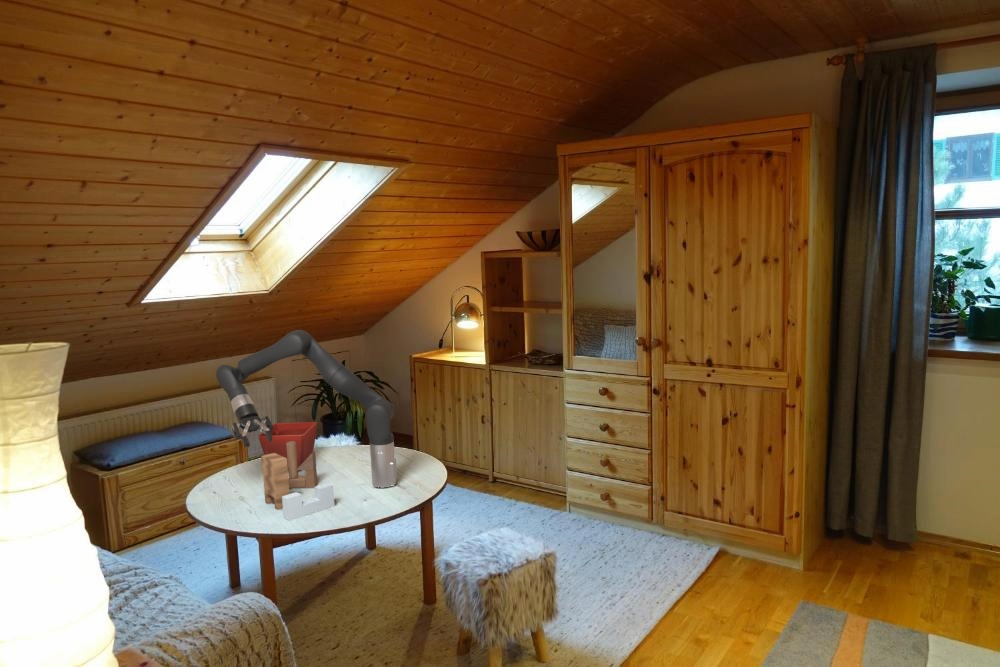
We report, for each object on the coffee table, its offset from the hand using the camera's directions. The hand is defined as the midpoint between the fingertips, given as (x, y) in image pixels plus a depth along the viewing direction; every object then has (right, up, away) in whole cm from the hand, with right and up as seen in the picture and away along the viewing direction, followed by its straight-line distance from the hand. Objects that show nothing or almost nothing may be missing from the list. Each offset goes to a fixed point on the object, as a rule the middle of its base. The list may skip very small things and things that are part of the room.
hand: (259, 443), depth 268 cm
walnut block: (+9, -22, -5) cm, 24 cm away
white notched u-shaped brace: (+22, -22, -14) cm, 34 cm away
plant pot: (+1, -16, +36) cm, 40 cm away
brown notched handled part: (+13, -19, +12) cm, 26 cm away
